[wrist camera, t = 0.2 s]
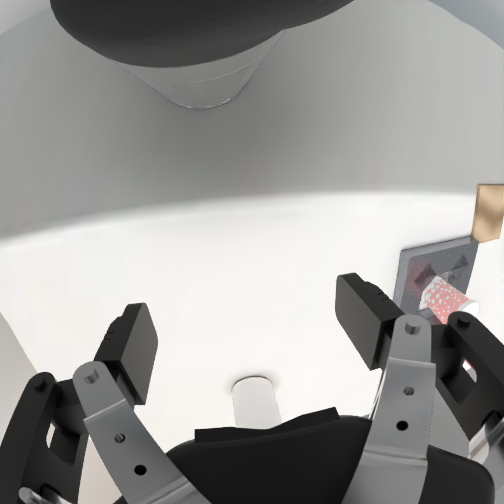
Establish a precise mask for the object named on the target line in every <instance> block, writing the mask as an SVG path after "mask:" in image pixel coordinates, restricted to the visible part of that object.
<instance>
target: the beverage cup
mask: <svg viewBox="0 0 504 504" xmlns="http://www.w3.org/2000/svg"><path fill="white" fill-rule="evenodd" d="M421 298H422V300H423V301H424V302H425V303H426V304H427V306H428V307H429V308H430V309H431V310H432V311H433V313H434V314H435V315H436V316H437V317H438V319H439V320H440V321H441V322H442V323H443V324H446V322H447V319H448V316H449V315H450V314H451V313H452V312H455V311H464V312H468V313H470V314H472V315H473V316H474V317H476V316H477V314H478V310H479V305H478V303H477V302H475V301H474V300H472V299H469V298H468V297H466V296H465V295H464V294H462V293H461V292H460V291H458V290H457V289H456V288H454V287H453V286H451V285H450V284H449V283H447V282H446V281H444V280H443V279H442V278H440V277H438V276H436V277H435V278H434V279H433V280H432V282H431V283H430V284H429V285H428V287H427V288H426V289H425V290H424V291H423V293H422V297H421Z"/></svg>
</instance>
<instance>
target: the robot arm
mask: <svg viewBox="0 0 504 504" xmlns="http://www.w3.org/2000/svg"><path fill="white" fill-rule="evenodd" d="M352 1H353V0H50V3H51V8H52V10H53V13H54V15H55V17H56V19H57V21H58V22H59V24H60V25H61V26H62V27H63V28H64V29H65V30H66V31H67V32H68V33H69V34H70V35H71V36H73V37H74V38H75V39H76V40H78V41H79V42H81V43H82V44H84V45H86V46H87V47H89V48H91V49H92V50H94V51H96V52H97V53H99V54H101V55H103V56H105V57H106V58H108V59H109V60H111V61H113V62H114V63H116V64H117V65H119V66H120V67H122V68H124V69H125V70H127V71H128V72H130V73H132V74H133V75H134V76H136V77H137V78H139V79H140V80H142V81H143V82H145V83H146V84H147V85H149V86H150V87H152V88H153V89H155V90H156V91H157V92H159V93H160V94H161V95H163V96H164V97H166V98H167V99H168V100H170V101H172V102H173V103H175V104H177V105H179V106H182V107H185V108H189V109H197V110H198V109H209V108H213V107H217V106H220V105H222V104H224V103H226V102H228V101H230V100H231V99H232V98H234V97H235V96H236V95H237V94H238V93H239V92H240V91H241V90H242V89H243V88H244V86H245V85H246V83H247V82H248V81H249V79H250V78H251V76H252V75H253V74H254V72H255V71H256V69H257V68H258V66H259V65H260V64H261V62H262V61H263V59H264V58H265V57H266V55H267V54H268V53H269V51H270V50H271V49H272V47H273V46H274V45H275V43H276V42H277V41H278V39H279V38H280V36H281V35H282V34H283V32H284V31H285V30H286V29H288V28H292V27H296V26H300V25H303V24H306V23H309V22H312V21H315V20H317V19H320V18H322V17H325V16H327V15H329V14H331V13H333V12H335V11H337V10H338V9H340V8H342V7H343V6H345V5H347V4H349V3H350V2H352ZM335 312H336V316H337V319H338V321H339V323H340V324H341V326H342V327H343V329H344V330H345V332H346V333H347V335H348V337H349V338H350V340H351V341H352V343H353V344H354V346H355V348H356V349H357V351H358V352H359V354H360V355H361V357H362V359H363V360H364V362H365V363H366V365H367V367H368V368H369V370H370V371H371V370H374V369H377V368H381V369H382V374H381V378H380V382H379V386H378V389H377V393H376V396H375V400H374V403H373V406H372V410H371V413H370V416H369V419H368V418H363V417H359V416H352V415H338V412H337V410H336V408H335V407H332V408H328V409H324V410H321V411H317V412H312V413H308V414H304V415H301V416H298V417H296V418H294V419H292V420H289V421H287V422H285V423H282V424H280V425H277V426H275V427H272V428H269V429H250V428H237V427H222V428H209V429H195V439H193V440H189V441H187V442H184V443H182V444H180V445H177V446H175V447H174V448H172V449H171V450H169V451H168V452H167V453H164V452H163V451H162V449H161V448H160V447H159V446H158V444H157V443H156V442H155V440H154V439H153V438H152V436H151V435H150V434H149V432H148V431H147V430H146V428H145V427H144V426H143V424H142V423H141V421H140V420H139V418H138V417H137V416H136V414H135V413H134V406H135V405H145V403H146V398H147V393H148V388H149V383H150V378H151V374H152V369H153V365H154V360H155V356H156V351H157V347H158V338H157V333H156V330H155V327H154V325H153V322H152V319H151V316H150V313H149V310H148V307H147V305H146V303H136V304H128V305H127V306H126V308H125V310H124V313H123V315H122V316H121V317H117V318H116V319H115V320H114V321H113V322H112V323H111V324H110V326H109V328H108V330H107V334H105V336H104V338H103V339H104V340H102V343H101V345H100V347H99V349H98V351H97V353H96V355H95V358H94V360H93V361H91V362H87V363H85V364H83V365H81V366H80V367H79V368H78V369H77V370H76V371H75V373H74V375H73V379H69V380H64V381H59V382H57V381H56V379H55V378H54V376H53V375H52V374H51V373H49V372H41V373H38V374H36V375H35V376H33V377H32V378H31V379H30V380H29V381H28V383H27V385H26V387H25V389H24V391H23V393H22V395H21V398H20V400H19V402H18V404H17V406H16V408H15V411H14V413H13V415H12V418H11V420H10V423H9V425H8V427H7V430H6V433H5V435H4V438H3V440H2V443H1V446H0V504H77V503H78V493H79V487H80V480H81V473H82V468H83V462H84V456H85V451H86V446H87V442H88V437H89V435H90V437H91V439H92V441H93V443H94V445H95V447H96V449H97V451H98V453H99V455H100V457H101V459H102V461H103V463H104V465H105V466H106V468H107V470H108V472H109V473H110V475H111V477H112V479H113V480H114V482H115V484H116V485H117V487H118V489H119V490H120V492H121V493H122V496H121V497H120V498H119V499H118V500H117V501H116V502H115V503H113V504H494V500H495V491H496V490H497V489H498V488H499V487H500V486H502V485H503V484H504V345H503V344H502V343H501V342H500V341H499V340H498V339H497V338H496V337H495V336H494V335H493V334H492V333H491V332H490V331H489V330H488V329H487V328H486V327H485V326H484V325H483V324H482V323H481V322H480V321H479V320H478V319H477V318H476V317H474V316H473V315H472V314H470V313H468V312H464V311H455V312H452V313H451V314H450V315H449V316H448V319H447V322H446V324H439V325H430V323H429V322H428V321H427V320H426V319H425V318H423V317H421V316H418V315H413V314H407V315H406V314H405V313H404V312H403V311H402V310H401V309H400V308H399V307H398V306H397V305H396V304H395V303H394V302H393V301H392V300H391V299H389V297H388V296H387V295H386V294H384V292H383V291H382V290H381V289H380V288H379V287H378V286H376V285H374V284H372V283H370V282H368V281H367V282H364V281H363V280H362V279H361V278H360V277H359V276H358V275H357V274H356V273H349V274H343V275H339V276H338V277H337V281H336V300H335ZM465 359H466V360H467V361H468V362H469V363H470V365H471V366H472V367H473V368H474V370H475V371H476V374H477V381H476V383H475V382H474V381H473V379H472V378H471V377H470V375H469V374H468V373H467V372H466V370H465V369H464V368H463V366H462V365H463V363H464V361H465ZM435 387H436V388H437V390H438V391H439V393H440V394H441V396H442V397H443V399H444V400H445V402H446V404H447V405H448V406H449V408H450V409H451V411H452V413H453V414H454V416H455V418H456V419H457V421H458V423H459V424H460V426H461V428H462V429H463V431H464V433H465V434H466V436H467V438H468V439H469V441H470V445H469V453H470V454H469V456H468V458H465V457H462V456H459V455H456V454H453V453H450V452H447V451H445V450H442V449H439V448H437V447H434V446H431V445H429V444H428V442H429V436H430V429H431V422H432V413H433V405H434V394H435ZM51 423H52V424H53V426H54V427H55V431H54V434H53V437H52V441H51V444H50V448H48V446H47V442H46V437H47V433H48V430H49V427H50V424H51Z"/></svg>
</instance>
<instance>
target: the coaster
mask: <svg viewBox="0 0 504 504" xmlns="http://www.w3.org/2000/svg"><path fill="white" fill-rule="evenodd" d="M503 216H504V185H478V190H477V200H476V208H475V215H474V222H473V228H472V234H471V236H472V237H474V238H476V239H477V240H479V244H480V243H484V242H487V241H491V240H495V239H498V238H500V233H501V228H502V222H503Z"/></svg>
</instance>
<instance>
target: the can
mask: <svg viewBox="0 0 504 504" xmlns="http://www.w3.org/2000/svg"><path fill="white" fill-rule="evenodd" d="M232 398H233V407H234V416H235V424H236V427H237V428H250V429H269V428H272V427H275V426H277V425H280V424H282V420H281V416H280V412H279V408H278V404H277V400H276V396H275V392H274V388H273V385H272V383H271V382H270V381H269V380H267V379H265V378H262V377H248V378H244V379H242V380H240V381H239V382H237V383H236V384H235V385H234V386H233V388H232Z"/></svg>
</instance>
